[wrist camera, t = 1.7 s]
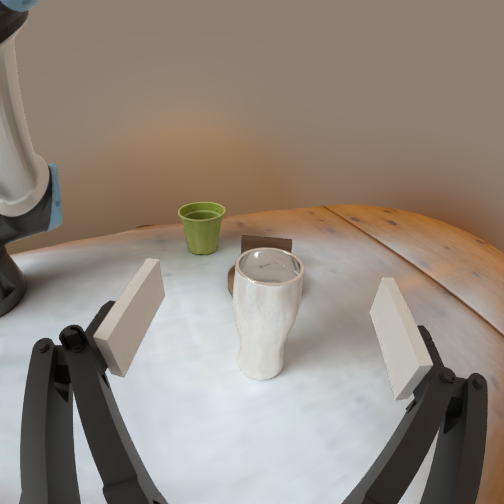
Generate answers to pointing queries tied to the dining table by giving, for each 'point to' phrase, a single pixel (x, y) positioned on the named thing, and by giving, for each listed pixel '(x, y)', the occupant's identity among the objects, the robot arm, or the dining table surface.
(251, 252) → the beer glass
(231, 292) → the walnut base
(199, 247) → the plant pot
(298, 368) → the dining table surface
